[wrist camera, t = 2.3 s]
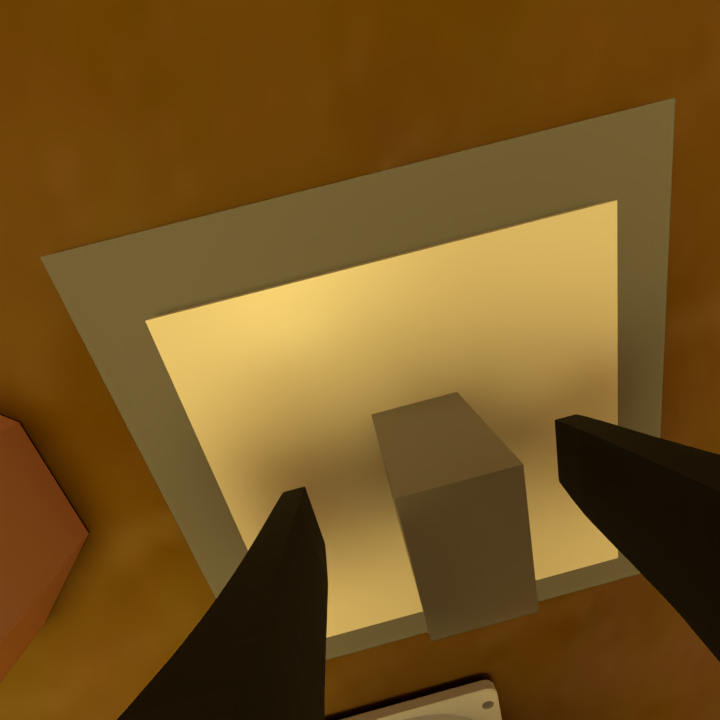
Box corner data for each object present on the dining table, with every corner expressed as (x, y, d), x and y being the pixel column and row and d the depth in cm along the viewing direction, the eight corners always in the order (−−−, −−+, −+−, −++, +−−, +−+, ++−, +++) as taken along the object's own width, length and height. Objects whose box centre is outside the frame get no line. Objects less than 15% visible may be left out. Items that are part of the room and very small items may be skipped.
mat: (645, 560, 14) (654, 569, 14) (259, 666, 14) (257, 678, 14) (660, 104, 9) (675, 97, 9) (52, 256, 9) (39, 256, 8)
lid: (605, 544, 13) (723, 669, 9) (292, 629, 13) (278, 794, 9) (599, 203, 9) (797, 170, 5) (156, 315, 9) (31, 366, 5)
